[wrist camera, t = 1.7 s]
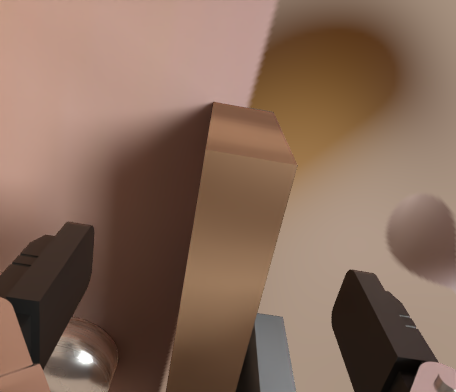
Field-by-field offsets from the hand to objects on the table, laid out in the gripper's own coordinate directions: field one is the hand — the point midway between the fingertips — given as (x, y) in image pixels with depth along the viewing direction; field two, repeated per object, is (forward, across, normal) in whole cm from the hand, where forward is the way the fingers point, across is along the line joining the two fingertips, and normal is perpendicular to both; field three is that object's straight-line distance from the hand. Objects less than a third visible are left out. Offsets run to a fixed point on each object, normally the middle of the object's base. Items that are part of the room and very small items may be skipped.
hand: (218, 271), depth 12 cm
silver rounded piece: (+6, +6, +10) cm, 13 cm away
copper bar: (+6, 0, +5) cm, 7 cm away
